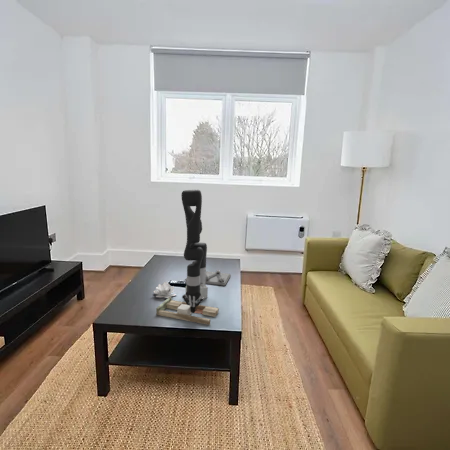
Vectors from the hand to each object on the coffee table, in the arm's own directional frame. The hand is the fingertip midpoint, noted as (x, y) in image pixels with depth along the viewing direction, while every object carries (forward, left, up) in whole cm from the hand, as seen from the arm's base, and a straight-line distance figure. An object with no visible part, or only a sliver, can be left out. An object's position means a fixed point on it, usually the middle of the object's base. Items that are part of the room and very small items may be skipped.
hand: (193, 312), depth 176 cm
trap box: (0, -4, -3) cm, 5 cm away
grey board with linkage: (-58, -12, -3) cm, 59 cm away
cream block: (0, -5, -3) cm, 6 cm away
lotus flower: (-19, -28, -3) cm, 34 cm away
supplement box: (-19, -12, +1) cm, 23 cm away
